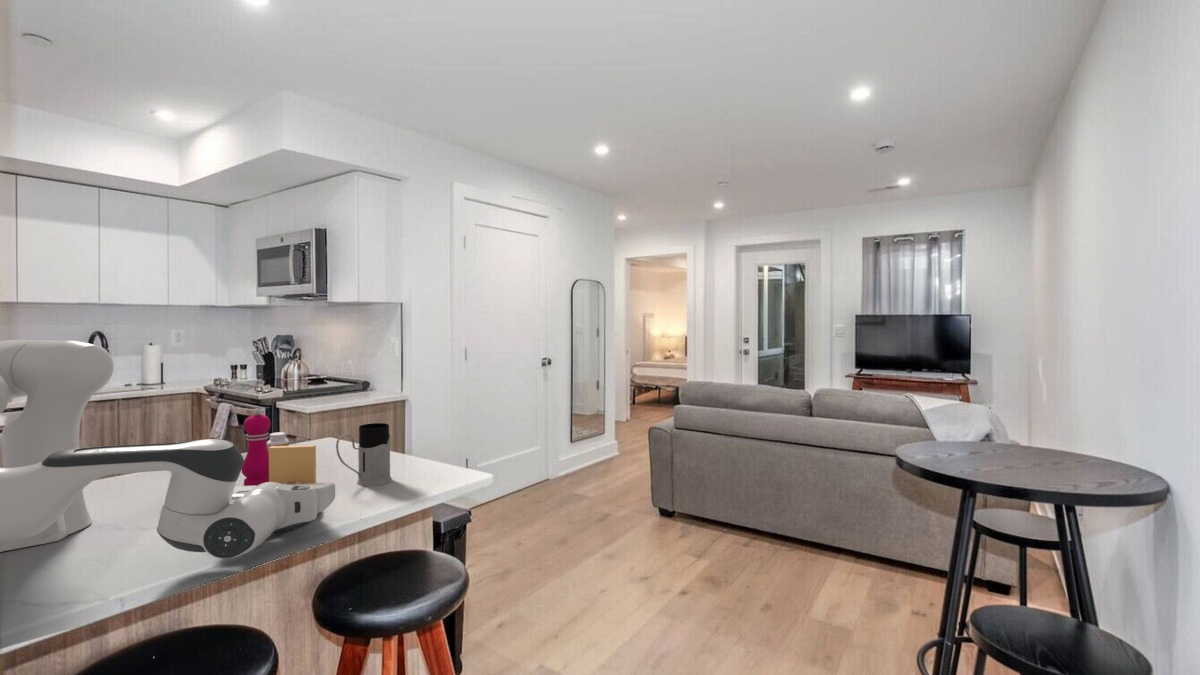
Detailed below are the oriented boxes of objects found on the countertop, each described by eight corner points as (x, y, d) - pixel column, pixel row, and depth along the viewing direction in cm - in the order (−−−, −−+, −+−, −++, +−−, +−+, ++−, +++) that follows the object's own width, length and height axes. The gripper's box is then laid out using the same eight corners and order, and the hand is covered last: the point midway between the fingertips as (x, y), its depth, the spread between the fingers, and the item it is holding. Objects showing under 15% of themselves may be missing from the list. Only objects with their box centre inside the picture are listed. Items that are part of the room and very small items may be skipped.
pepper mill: (263, 489, 143) (262, 411, 142) (235, 488, 143) (233, 410, 142) (280, 480, 150) (279, 406, 149) (253, 480, 150) (252, 406, 149)
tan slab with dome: (235, 515, 118) (234, 451, 117) (250, 504, 125) (249, 444, 124) (309, 511, 120) (309, 449, 120) (320, 501, 127) (319, 442, 127)
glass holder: (397, 481, 151) (397, 425, 150) (343, 493, 140) (343, 433, 140) (382, 474, 157) (382, 421, 156) (330, 485, 146) (329, 428, 146)
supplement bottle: (293, 466, 164) (293, 431, 164) (280, 471, 158) (280, 435, 158) (275, 465, 164) (275, 431, 164) (262, 471, 159) (261, 435, 159)
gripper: (207, 525, 106) (241, 502, 120) (323, 520, 110) (342, 497, 123) (207, 493, 106) (240, 473, 120) (322, 488, 109) (342, 469, 123)
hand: (293, 485), depth 121 cm, fingers closed
